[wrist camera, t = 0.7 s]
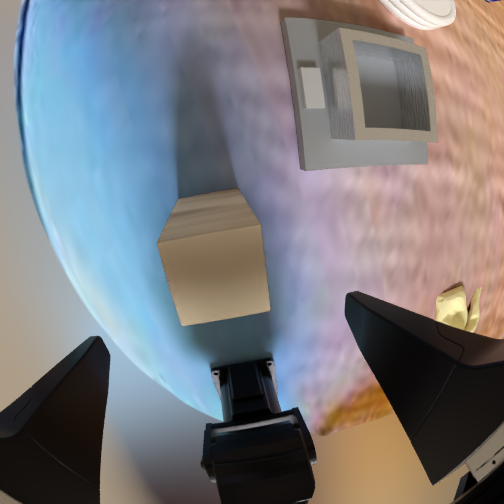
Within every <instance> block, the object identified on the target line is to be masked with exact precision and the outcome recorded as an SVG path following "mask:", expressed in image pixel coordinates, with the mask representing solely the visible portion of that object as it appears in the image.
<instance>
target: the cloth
mask: <svg viewBox="0 0 504 504" xmlns="http://www.w3.org/2000/svg"><path fill="white" fill-rule="evenodd" d="M481 288H482V286H481V287H478V288H477V289H476V291H475V293H474V295H473V297H472V299H471V306H470V311H469V313H468V311H467V306H466V295H465V291H464V288H463V287H462V286H459V287H457V288H454V289H452V290H449V291H447V292H445V293H442V294H441V295H440V296H438V298H437V300H436V302H437V304H436V308H437V310H436V315H435V320H436V321H439V322H441V323H444V324H447V325H450V326H452V327H455V328H459V329H462V330H465V331H469V332H472V333H473V331H474V330H475V328H476V327H477V324H478V320H479V298H480V292H481Z"/></svg>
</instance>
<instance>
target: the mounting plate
mask: <svg viewBox="0 0 504 504" xmlns="http://www.w3.org/2000/svg"><path fill="white" fill-rule="evenodd" d="M281 28H282V33H283V39H284V45H285V51H286V57H287V63H288V69H289V76H290V83H291V90H292V97H293V105H294V113H295V121H296V130H297V139H298V148H299V159H300V169H301V170H304V171H311V170H322V169H333V168H346V167H361V166H379V165H409V164H428V155H427V142H422V141H400V140H343V139H331V128H330V119H329V110H328V101H327V94H326V86H325V80H324V73H323V67H322V61H321V55H320V49H319V44H318V43H319V42H320V41H321V40H323V39H324V38H325V37H327V36H328V35H329V34H331V33H332V32H334V31H335V30H336V29H338V28H345V29H351V30H357V31H363V32H368V33H373V34H377V35H382V36H386V37H390V38H394V39H398V40H402V41H405V42H409V43H412V44H414V41H413V39H412V38H409V37H405V36H402V35H398V34H395V33H391V32H387V31H383V30H379V29H375V28H370V27H365V26H360V25H355V24H349V23H343V22H336V21H328V20H319V19H308V18H292V17H285V18H284V19H283V20H282V22H281ZM356 61H357V66H358V72H359V79H360V86H361V93H362V101H363V110H364V120H365V128H393V129H402V117H401V107H400V98H399V90H398V83H397V77H396V70H395V65H394V62H392V61H387V60H381V59H376V58H370V57H363V56H356Z"/></svg>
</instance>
